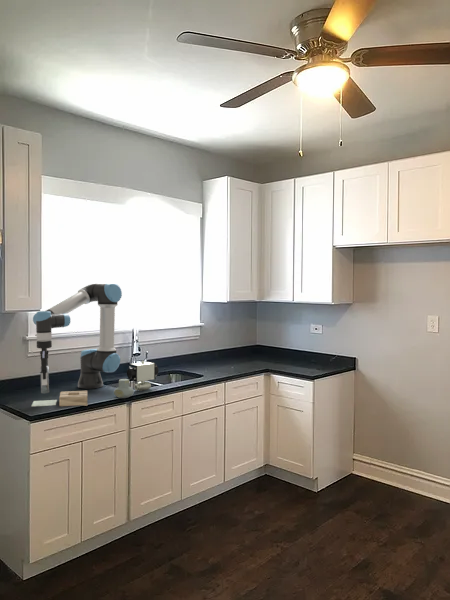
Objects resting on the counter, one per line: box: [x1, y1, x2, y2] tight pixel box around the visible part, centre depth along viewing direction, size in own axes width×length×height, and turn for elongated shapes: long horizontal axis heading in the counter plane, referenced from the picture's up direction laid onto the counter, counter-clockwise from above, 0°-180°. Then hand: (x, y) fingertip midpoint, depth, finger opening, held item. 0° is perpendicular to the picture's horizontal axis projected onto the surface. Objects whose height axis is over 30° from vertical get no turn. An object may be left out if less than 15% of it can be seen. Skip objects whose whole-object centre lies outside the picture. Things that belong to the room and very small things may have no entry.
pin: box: [40, 365, 50, 395], centre depth 266 cm, size 4×4×14 cm
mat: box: [30, 399, 58, 407], centre depth 266 cm, size 12×12×1 cm
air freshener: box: [113, 378, 135, 399], centre depth 283 cm, size 11×8×10 cm
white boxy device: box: [126, 360, 159, 392], centre depth 301 cm, size 18×8×18 cm, turn 129°
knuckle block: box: [58, 390, 88, 407], centre depth 268 cm, size 14×14×5 cm
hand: (44, 383), depth 266 cm, fingers closed on pin, 4 cm apart
